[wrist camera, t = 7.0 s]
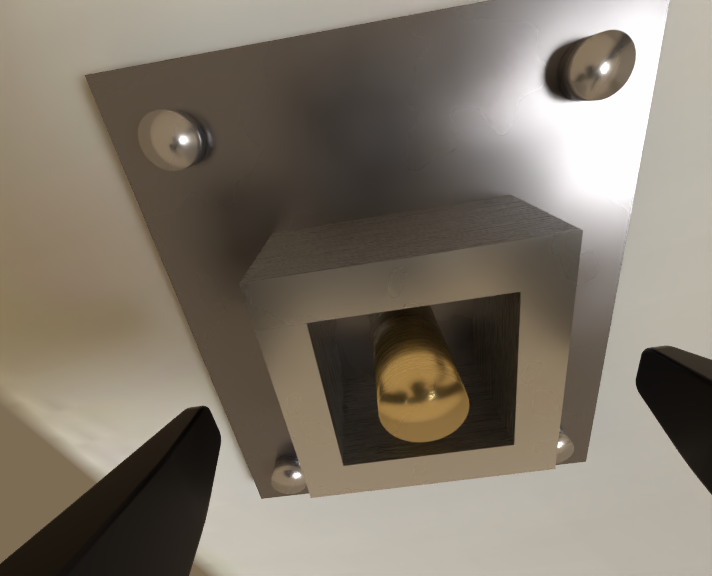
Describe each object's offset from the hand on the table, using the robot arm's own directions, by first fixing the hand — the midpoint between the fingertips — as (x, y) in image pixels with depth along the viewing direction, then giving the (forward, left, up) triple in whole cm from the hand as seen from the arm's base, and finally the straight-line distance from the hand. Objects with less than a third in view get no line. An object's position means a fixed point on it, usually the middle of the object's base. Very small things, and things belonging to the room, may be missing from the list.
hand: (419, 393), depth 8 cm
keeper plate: (0, 0, -4) cm, 4 cm away
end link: (0, 0, -3) cm, 3 cm away
